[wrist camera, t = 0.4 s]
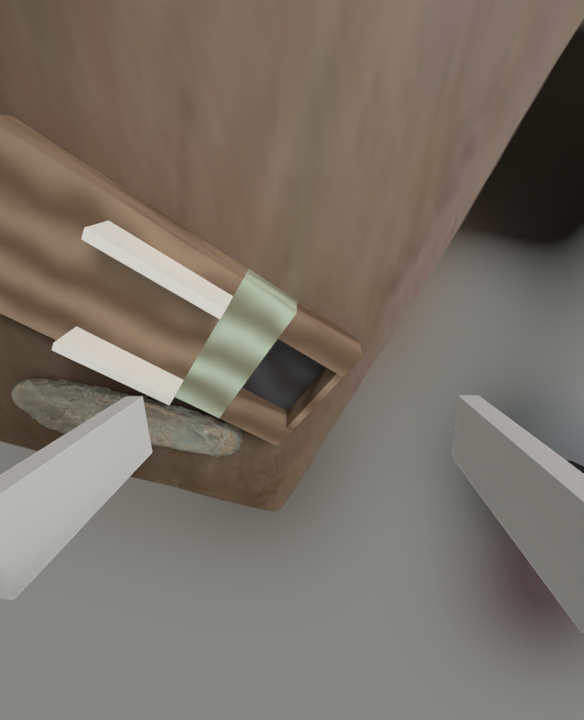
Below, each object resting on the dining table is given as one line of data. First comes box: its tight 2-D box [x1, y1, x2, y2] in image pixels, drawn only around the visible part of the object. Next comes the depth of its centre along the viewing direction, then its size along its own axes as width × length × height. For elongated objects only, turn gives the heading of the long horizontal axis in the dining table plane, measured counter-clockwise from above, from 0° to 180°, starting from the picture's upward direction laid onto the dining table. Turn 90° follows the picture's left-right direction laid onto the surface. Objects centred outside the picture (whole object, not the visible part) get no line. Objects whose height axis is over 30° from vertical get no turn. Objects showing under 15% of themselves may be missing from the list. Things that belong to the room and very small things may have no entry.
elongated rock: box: [11, 378, 243, 458], centre depth 49 cm, size 35×5×10 cm
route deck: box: [0, 115, 363, 446], centre depth 38 cm, size 20×43×4 cm, turn 56°
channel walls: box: [52, 220, 233, 405], centre depth 34 cm, size 15×14×4 cm
